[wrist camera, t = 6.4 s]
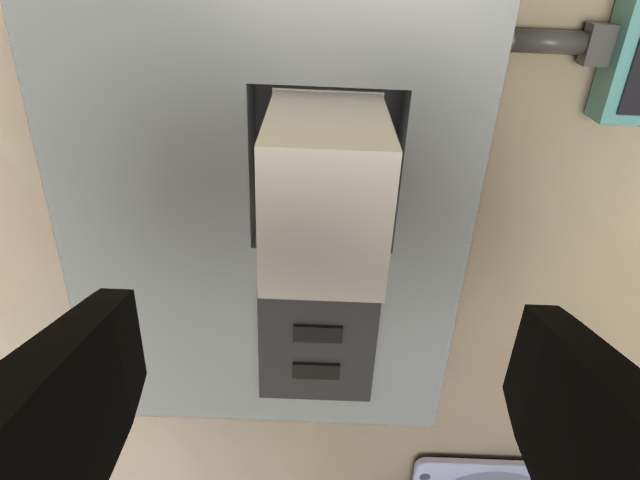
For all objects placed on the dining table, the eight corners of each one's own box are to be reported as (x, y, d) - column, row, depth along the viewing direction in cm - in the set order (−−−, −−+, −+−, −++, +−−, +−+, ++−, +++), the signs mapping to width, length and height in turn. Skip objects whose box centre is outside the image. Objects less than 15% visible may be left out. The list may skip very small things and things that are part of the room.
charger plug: (369, 196, 19) (386, 305, 14) (276, 192, 19) (255, 299, 14) (380, 79, 17) (404, 150, 12) (276, 75, 17) (252, 144, 12)
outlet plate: (426, 391, 24) (435, 434, 22) (112, 379, 24) (91, 421, 22) (512, -74, 15) (540, -76, 13) (16, -97, 15) (-32, -101, 13)
